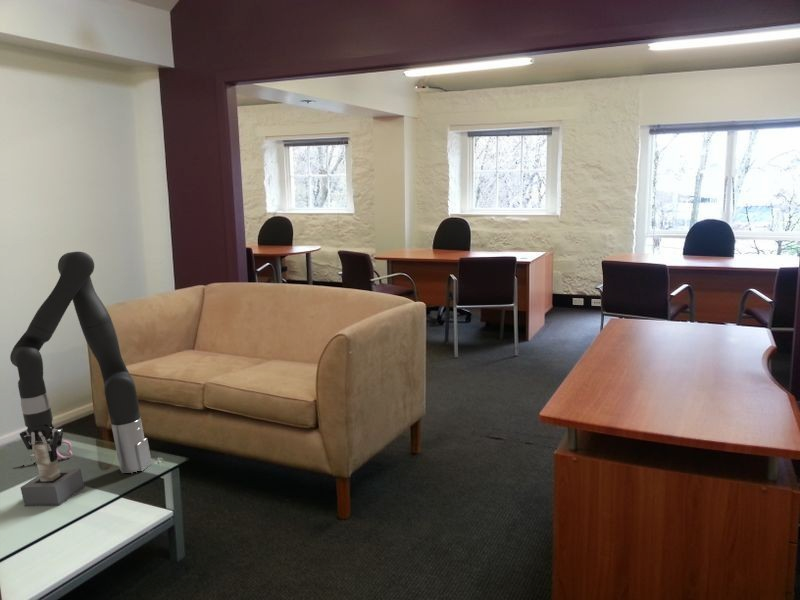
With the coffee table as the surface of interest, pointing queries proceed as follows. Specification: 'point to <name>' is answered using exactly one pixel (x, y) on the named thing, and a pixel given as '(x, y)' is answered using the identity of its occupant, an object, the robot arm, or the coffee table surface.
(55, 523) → the coffee table surface
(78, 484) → the well block
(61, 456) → the decorative key
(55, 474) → the wooden peg
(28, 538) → the coffee table surface
